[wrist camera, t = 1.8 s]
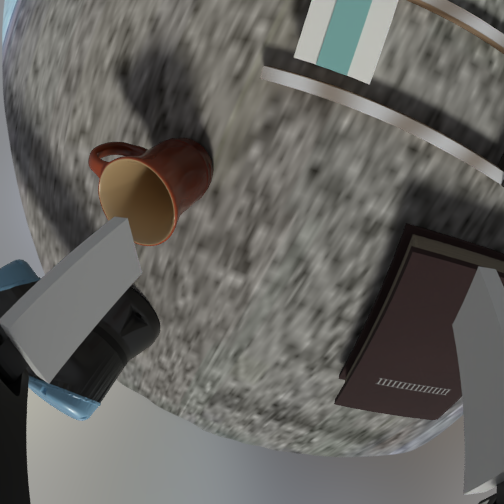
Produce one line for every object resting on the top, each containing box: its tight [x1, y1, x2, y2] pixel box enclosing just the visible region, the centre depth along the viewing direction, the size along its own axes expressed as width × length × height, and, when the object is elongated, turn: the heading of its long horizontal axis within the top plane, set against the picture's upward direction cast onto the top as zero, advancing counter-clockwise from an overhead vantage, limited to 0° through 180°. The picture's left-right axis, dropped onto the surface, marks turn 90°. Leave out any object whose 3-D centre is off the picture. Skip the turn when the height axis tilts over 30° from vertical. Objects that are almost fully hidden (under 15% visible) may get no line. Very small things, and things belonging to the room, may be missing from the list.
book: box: [334, 223, 504, 420], centre depth 34 cm, size 28×20×6 cm
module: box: [294, 0, 398, 85], centre depth 20 cm, size 6×8×6 cm
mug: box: [88, 138, 213, 246], centre depth 30 cm, size 12×9×10 cm
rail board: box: [260, 0, 504, 187], centre depth 19 cm, size 26×14×4 cm, turn 77°
